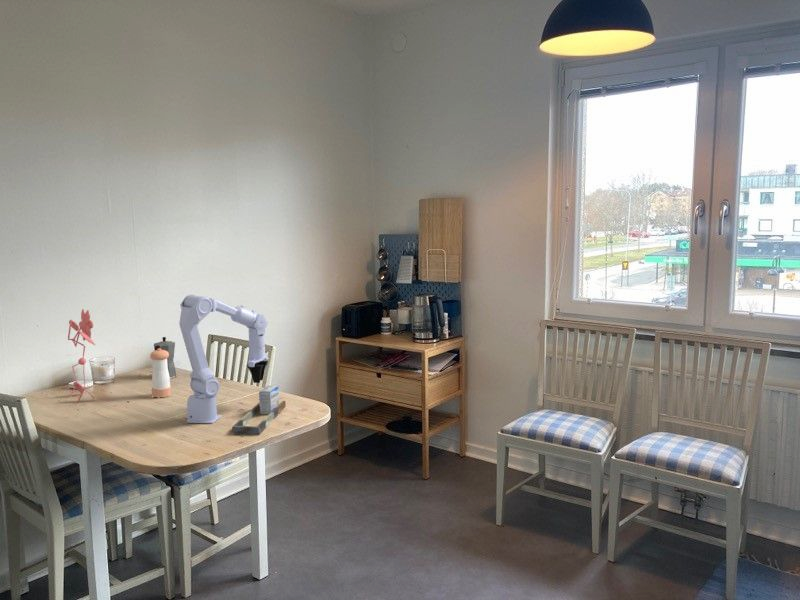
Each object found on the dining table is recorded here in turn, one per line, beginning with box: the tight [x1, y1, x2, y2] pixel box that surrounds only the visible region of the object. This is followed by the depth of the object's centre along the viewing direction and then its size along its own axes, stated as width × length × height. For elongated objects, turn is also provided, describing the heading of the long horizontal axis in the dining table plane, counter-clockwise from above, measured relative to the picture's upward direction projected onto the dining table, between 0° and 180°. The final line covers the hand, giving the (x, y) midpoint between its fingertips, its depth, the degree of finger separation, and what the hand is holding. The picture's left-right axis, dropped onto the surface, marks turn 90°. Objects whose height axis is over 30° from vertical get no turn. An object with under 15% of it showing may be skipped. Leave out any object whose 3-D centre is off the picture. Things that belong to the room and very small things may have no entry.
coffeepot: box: [153, 336, 177, 377], centre depth 284 cm, size 15×9×18 cm, turn 175°
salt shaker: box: [149, 348, 172, 398], centre depth 256 cm, size 7×7×19 cm
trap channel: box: [232, 400, 287, 436], centre depth 226 cm, size 9×30×2 cm, turn 173°
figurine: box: [67, 308, 96, 402], centre depth 254 cm, size 15×26×35 cm, turn 43°
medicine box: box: [258, 385, 280, 415], centre depth 236 cm, size 8×4×9 cm, turn 168°
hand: (258, 381), depth 242 cm, fingers open, 3 cm apart
